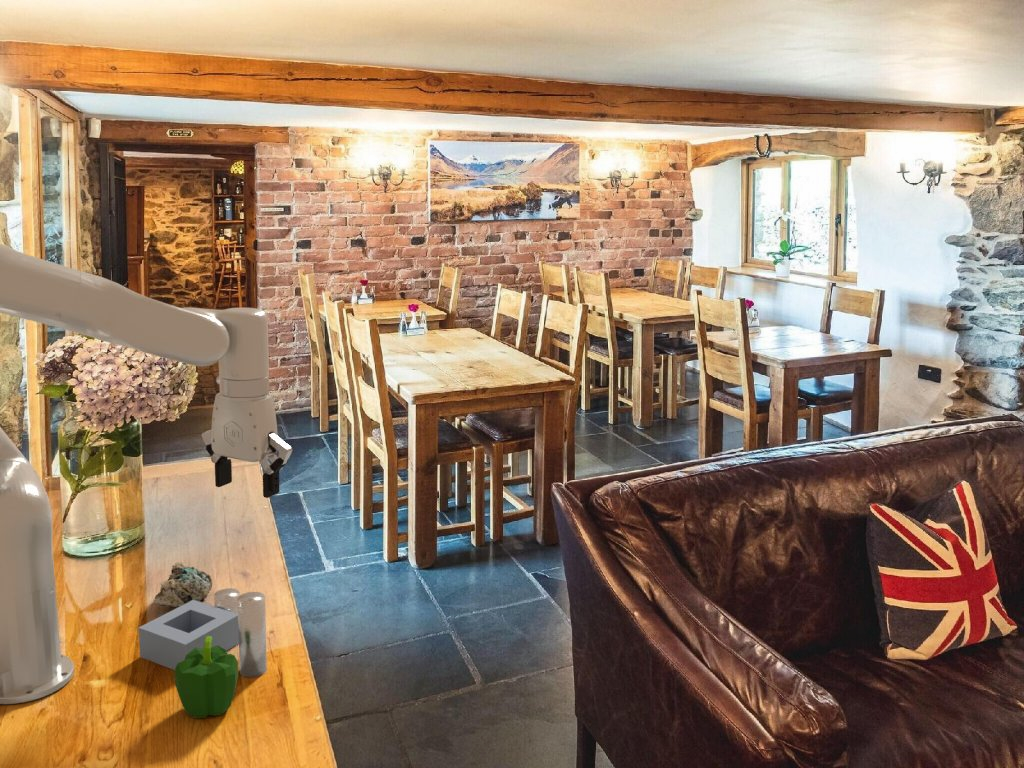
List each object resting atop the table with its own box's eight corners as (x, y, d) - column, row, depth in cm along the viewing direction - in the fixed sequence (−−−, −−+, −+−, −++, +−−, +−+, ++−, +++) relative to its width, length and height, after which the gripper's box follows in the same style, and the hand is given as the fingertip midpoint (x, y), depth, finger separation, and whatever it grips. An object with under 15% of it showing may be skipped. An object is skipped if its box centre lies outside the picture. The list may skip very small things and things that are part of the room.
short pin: (228, 635, 144) (227, 601, 143) (210, 628, 146) (208, 595, 145) (245, 624, 148) (244, 592, 146) (227, 619, 149) (226, 586, 148)
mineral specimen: (207, 614, 149) (211, 566, 150) (149, 613, 147) (154, 564, 148) (213, 606, 161) (217, 562, 162) (160, 605, 159) (165, 560, 160)
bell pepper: (222, 730, 119) (219, 663, 117) (166, 721, 121) (162, 655, 118) (250, 696, 127) (248, 633, 125) (197, 688, 129) (194, 626, 127)
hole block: (186, 674, 132) (185, 644, 131) (140, 657, 137) (138, 627, 135) (239, 643, 142) (239, 614, 141) (194, 627, 146) (193, 599, 145)
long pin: (253, 680, 132) (252, 606, 129) (233, 672, 133) (231, 599, 131) (272, 667, 135) (270, 595, 132) (252, 660, 137) (250, 589, 134)
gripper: (184, 384, 138) (189, 487, 142) (273, 398, 131) (275, 506, 135) (218, 376, 145) (221, 474, 149) (304, 389, 138) (305, 492, 142)
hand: (247, 489), depth 142 cm, fingers open, 9 cm apart
